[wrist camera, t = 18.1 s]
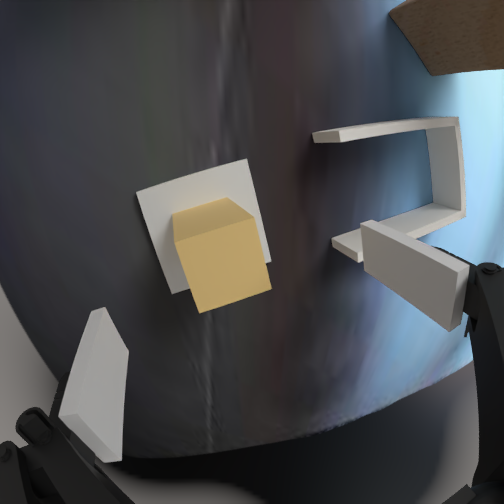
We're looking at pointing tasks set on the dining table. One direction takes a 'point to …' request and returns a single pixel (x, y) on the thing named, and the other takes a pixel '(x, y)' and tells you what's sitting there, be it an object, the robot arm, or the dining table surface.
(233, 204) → the block
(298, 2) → the dining table surface
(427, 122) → the white u-shaped frame
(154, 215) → the tile
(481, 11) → the wooden block
